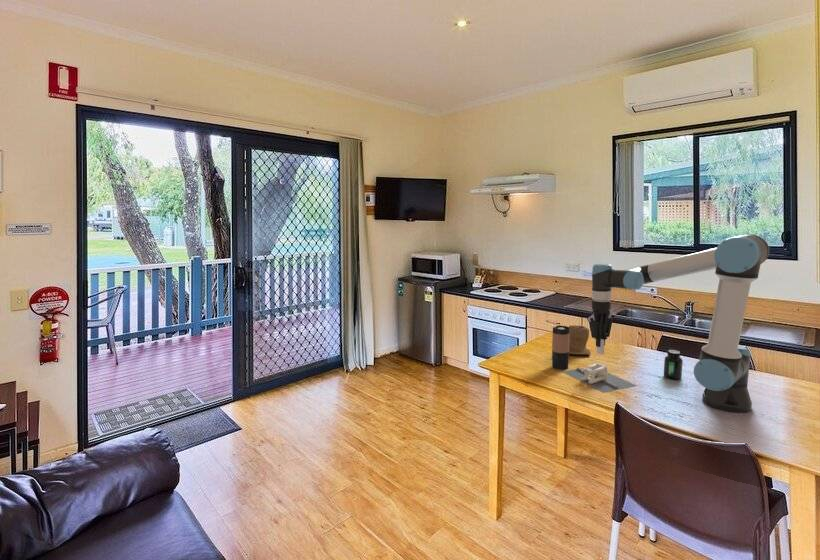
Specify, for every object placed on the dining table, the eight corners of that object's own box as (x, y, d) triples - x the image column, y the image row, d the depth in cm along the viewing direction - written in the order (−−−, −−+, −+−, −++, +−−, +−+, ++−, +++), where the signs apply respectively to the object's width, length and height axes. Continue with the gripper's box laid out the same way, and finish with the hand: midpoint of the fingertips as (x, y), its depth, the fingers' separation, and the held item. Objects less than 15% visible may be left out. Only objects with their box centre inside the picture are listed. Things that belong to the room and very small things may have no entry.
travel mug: (569, 371, 201) (570, 329, 198) (552, 370, 202) (553, 329, 199) (567, 365, 208) (568, 325, 205) (550, 364, 210) (551, 325, 207)
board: (637, 386, 181) (637, 383, 181) (603, 393, 175) (603, 390, 175) (593, 366, 205) (593, 364, 205) (561, 372, 200) (561, 369, 199)
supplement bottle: (672, 381, 186) (674, 354, 184) (659, 375, 192) (661, 350, 190) (685, 379, 187) (687, 352, 186) (671, 373, 194) (673, 348, 192)
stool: (606, 366, 184) (590, 372, 182) (607, 379, 186) (591, 385, 183) (596, 362, 190) (580, 367, 188) (597, 374, 191) (581, 380, 189)
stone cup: (588, 350, 230) (589, 323, 228) (592, 357, 218) (593, 329, 216) (558, 349, 233) (559, 322, 231) (561, 356, 222) (561, 328, 220)
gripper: (606, 297, 188) (605, 349, 191) (582, 300, 184) (581, 353, 187) (620, 300, 181) (618, 353, 184) (595, 303, 177) (594, 358, 180)
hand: (600, 353), depth 186 cm, fingers closed
